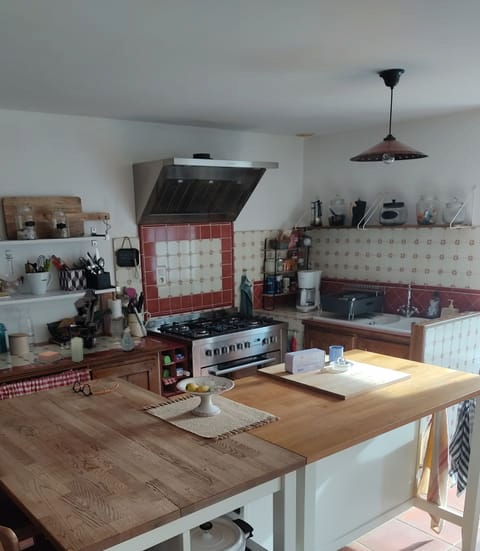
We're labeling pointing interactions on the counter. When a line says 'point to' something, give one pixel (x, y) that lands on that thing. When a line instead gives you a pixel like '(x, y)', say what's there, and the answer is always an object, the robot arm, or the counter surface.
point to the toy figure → (127, 341)
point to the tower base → (48, 357)
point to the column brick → (77, 349)
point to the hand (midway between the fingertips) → (78, 339)
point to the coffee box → (119, 327)
